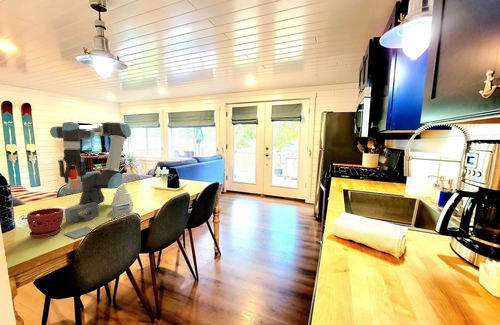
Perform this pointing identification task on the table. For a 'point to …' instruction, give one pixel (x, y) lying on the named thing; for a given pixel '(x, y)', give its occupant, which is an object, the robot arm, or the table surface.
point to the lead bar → (84, 216)
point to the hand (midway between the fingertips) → (74, 187)
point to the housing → (72, 212)
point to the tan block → (75, 183)
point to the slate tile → (79, 232)
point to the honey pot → (122, 197)
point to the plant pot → (45, 222)
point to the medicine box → (121, 209)
